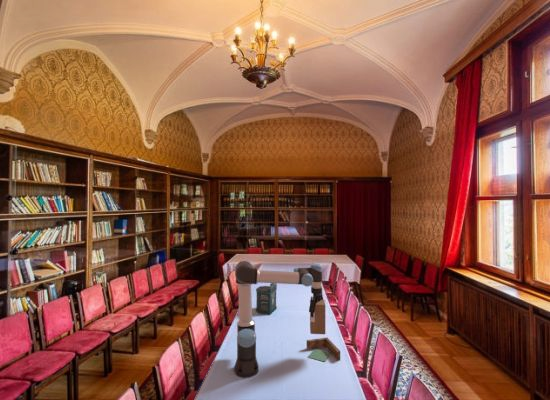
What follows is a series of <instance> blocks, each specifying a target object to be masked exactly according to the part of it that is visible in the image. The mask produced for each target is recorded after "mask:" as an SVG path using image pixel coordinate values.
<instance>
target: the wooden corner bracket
mask: <svg viewBox="0 0 550 400" xmlns="http://www.w3.org/2000/svg"><path fill="white" fill-rule="evenodd" d="M323 348H326V349H327V350H328V352H329V353H331V354H330V355H332V356H333V357H334V358H335V360H336V361H341V350H340V349H339V348H338V346H336V345H335V344H334V343H333V342H332V340H330V338H328V337H319V338H313V339H306V350H307V351H310V350H314V349H317V350H318V349H323Z"/></svg>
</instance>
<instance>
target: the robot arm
mask: <svg viewBox="0 0 550 400" xmlns="http://www.w3.org/2000/svg"><path fill="white" fill-rule="evenodd" d="M234 277H235V283H236V285H237V291H238V292H237V293H238V294H237V295H238V314H239V315H238V316H239V318H238V321H237V323H236V327H237V335H236V342H237V343H236V345H237V346H236V348H237V349H236V352H237V353H236V361H235V364H234V368H233V371H234V374H235V375H236V376H238V377H241V378H249V377H253V376H255V375H257V374H258V373H259V369H260V368H259V367H260V366H259V363H258V360H257V334H256V326H255V325H256V324H255V320H254V319H253V301H252V296H253V295H252V285H257V284H259V283H261V284H271V283H277V284H279V285H280V284H281V285H282V284H283V285H303V286H305V287H310V292H311V294H312V296H310V300H311V301H310V300H309V307H308V313H310V312H311V322H315V312H314V310H315V304H316V303H317V302H318V301H319V300H320V301H321V300H324V296H323V266H322V265H321V264H320V263H312V264H311V265H310V266H309V267H294V268H293V271H282V270H281V271H280V270H279V271H278V270H264V269H263V270H262V269H259V268H255V267H253V265H252V263H251V262H250V261H247V260H241V261H239V262H238V263H237V264H236V266H235V267H234Z"/></svg>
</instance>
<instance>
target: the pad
mask: <svg viewBox="0 0 550 400" xmlns="http://www.w3.org/2000/svg"><path fill="white" fill-rule="evenodd" d="M330 355H332V354H331V353H330V352H329V351H328V352H327V351H324V350H321V349H318V348H317V349H312V351H311V352H310V354H309V355H307V358H310V359H313V360H316V361H319V362H323V363H325V362H326V361H327V359H328V358H329V357H330Z"/></svg>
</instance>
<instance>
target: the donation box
mask: <svg viewBox="0 0 550 400" xmlns="http://www.w3.org/2000/svg"><path fill="white" fill-rule="evenodd" d="M277 284H278V283H269V285H261V286H258V287H256V289H255V293H256V301H255V302H256V304H255V305H256V308H255V311H256V312H257V313H258V314H261V315H267V316H270V315H272V314H273V313H274V312H275V311H276V310H277V309H278V307H277V286H278V285H277Z"/></svg>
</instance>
